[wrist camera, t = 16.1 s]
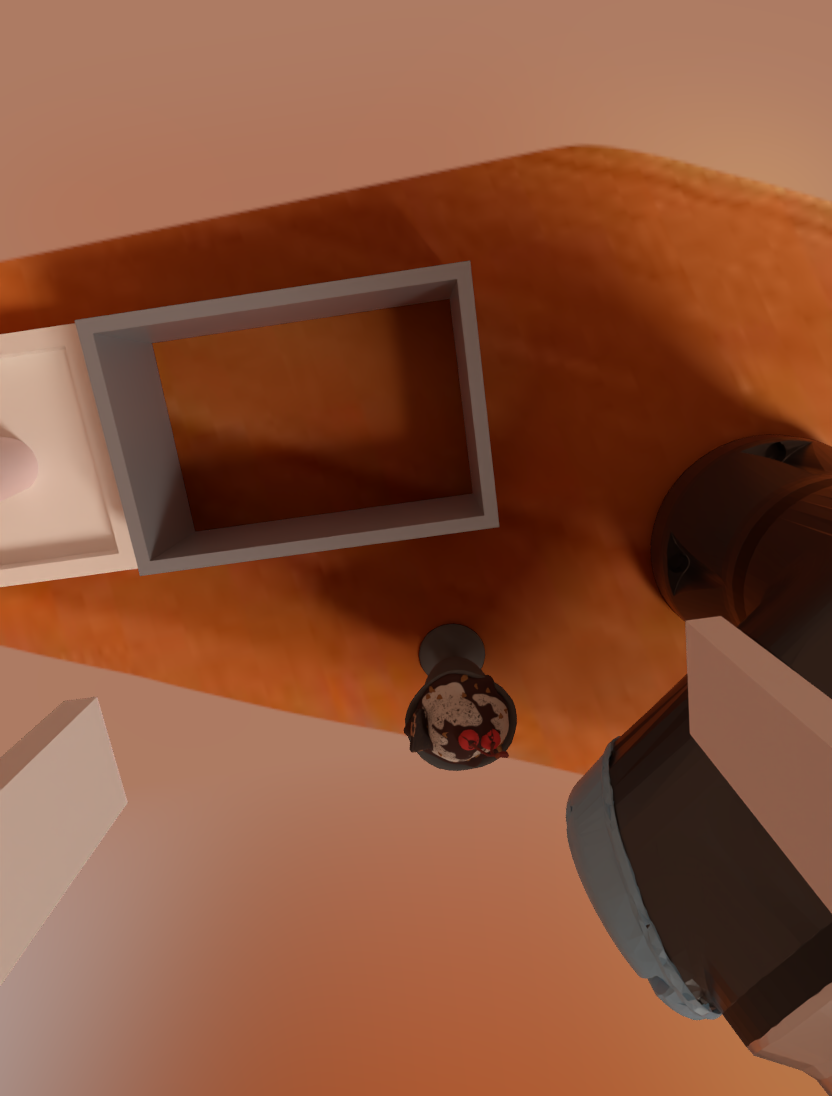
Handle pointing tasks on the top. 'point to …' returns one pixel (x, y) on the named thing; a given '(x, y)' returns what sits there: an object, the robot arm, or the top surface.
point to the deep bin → (126, 338)
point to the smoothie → (16, 467)
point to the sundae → (458, 704)
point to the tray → (57, 465)
